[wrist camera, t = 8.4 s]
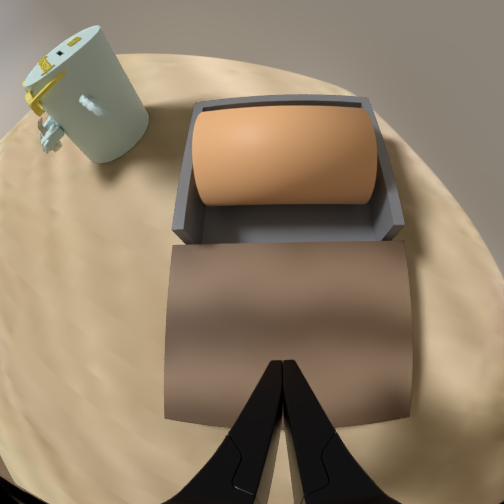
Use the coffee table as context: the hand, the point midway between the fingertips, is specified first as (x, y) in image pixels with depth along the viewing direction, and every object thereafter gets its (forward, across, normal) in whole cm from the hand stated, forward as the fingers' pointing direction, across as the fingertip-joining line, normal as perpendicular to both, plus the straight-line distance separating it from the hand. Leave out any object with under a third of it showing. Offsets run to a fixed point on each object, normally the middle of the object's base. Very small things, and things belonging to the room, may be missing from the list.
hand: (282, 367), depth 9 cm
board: (+8, 0, +6) cm, 10 cm away
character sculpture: (+22, +19, -9) cm, 30 cm away
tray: (+16, -1, -3) cm, 16 cm away
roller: (+13, -1, -5) cm, 14 cm away
